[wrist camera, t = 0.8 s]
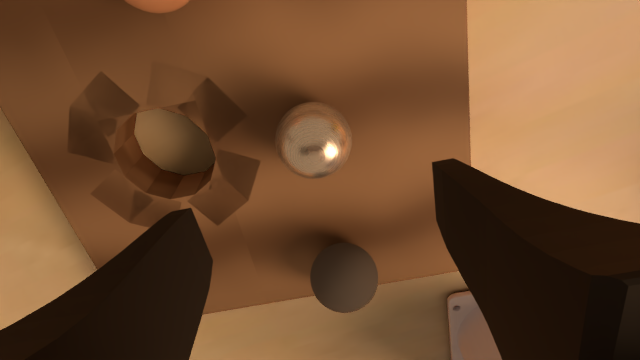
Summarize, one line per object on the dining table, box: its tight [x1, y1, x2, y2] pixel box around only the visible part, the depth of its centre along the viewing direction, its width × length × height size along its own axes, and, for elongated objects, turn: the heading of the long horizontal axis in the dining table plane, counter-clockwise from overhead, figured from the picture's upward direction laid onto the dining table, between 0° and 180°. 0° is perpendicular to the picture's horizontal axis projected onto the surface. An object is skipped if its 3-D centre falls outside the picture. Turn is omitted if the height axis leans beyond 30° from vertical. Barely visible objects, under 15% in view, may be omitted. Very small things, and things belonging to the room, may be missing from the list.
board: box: [0, 0, 471, 314], centre depth 20 cm, size 20×20×2 cm
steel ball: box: [275, 102, 352, 179], centre depth 17 cm, size 3×3×3 cm
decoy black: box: [310, 243, 378, 313], centre depth 20 cm, size 3×3×3 cm
